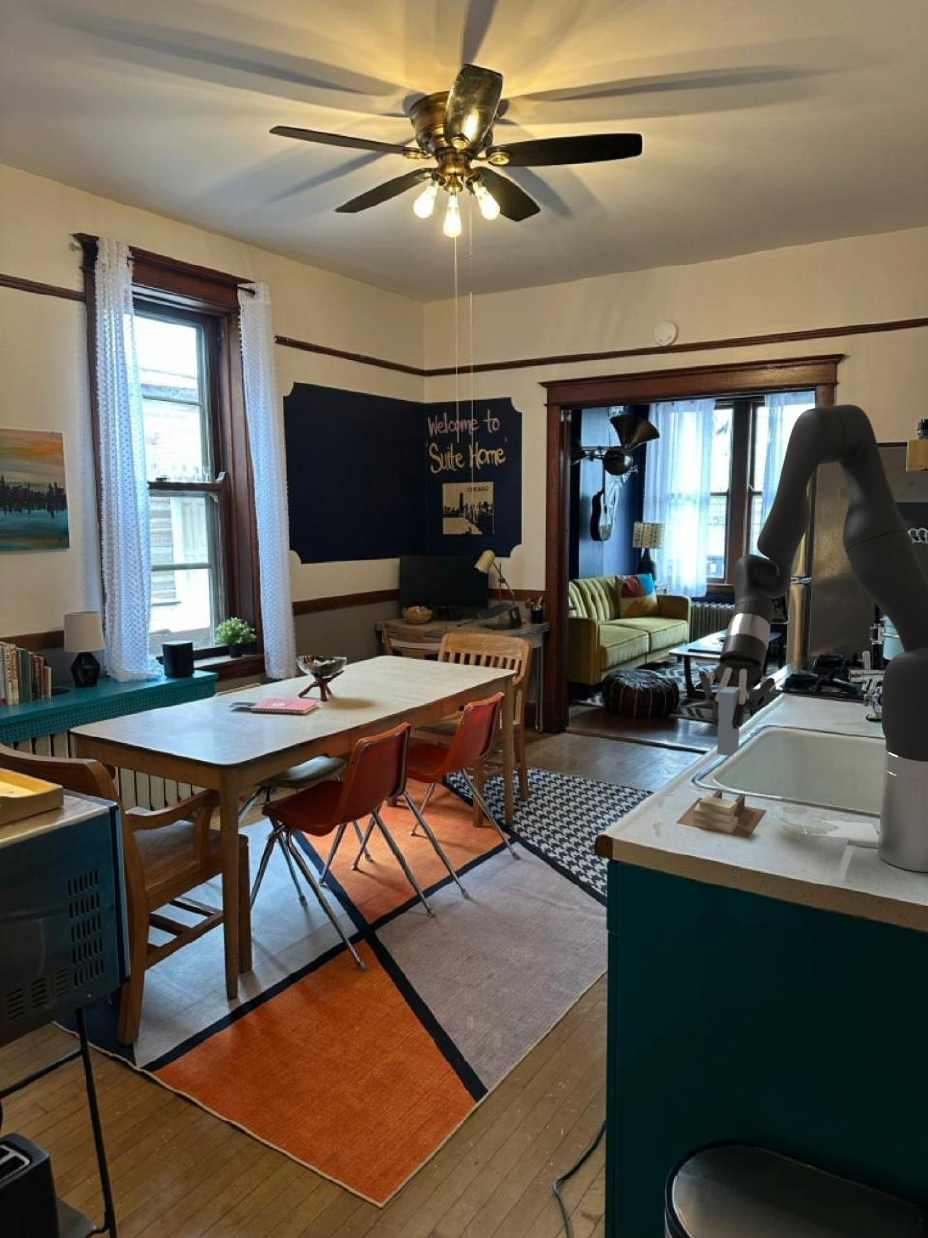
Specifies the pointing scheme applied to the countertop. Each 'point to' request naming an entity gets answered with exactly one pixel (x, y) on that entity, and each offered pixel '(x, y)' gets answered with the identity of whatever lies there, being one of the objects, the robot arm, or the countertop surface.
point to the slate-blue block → (727, 721)
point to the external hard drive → (854, 833)
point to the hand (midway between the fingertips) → (726, 725)
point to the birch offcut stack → (715, 814)
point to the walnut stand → (745, 815)
